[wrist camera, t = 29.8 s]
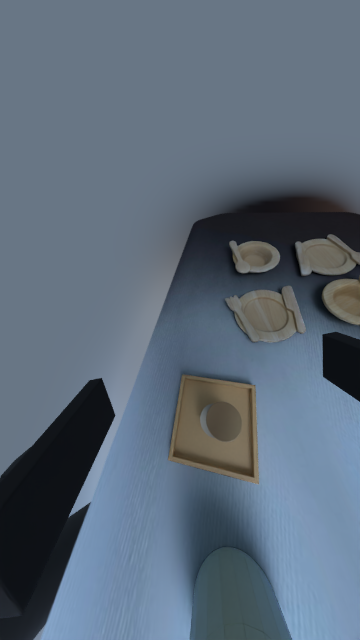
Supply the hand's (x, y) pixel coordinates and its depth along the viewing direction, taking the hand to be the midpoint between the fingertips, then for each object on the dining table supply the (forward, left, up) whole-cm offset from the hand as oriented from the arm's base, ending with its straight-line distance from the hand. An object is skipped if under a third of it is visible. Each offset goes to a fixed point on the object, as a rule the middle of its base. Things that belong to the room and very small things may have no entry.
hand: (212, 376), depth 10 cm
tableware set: (+18, +30, -25) cm, 43 cm away
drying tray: (+1, -2, -25) cm, 25 cm away
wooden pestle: (+1, -2, -24) cm, 24 cm away
